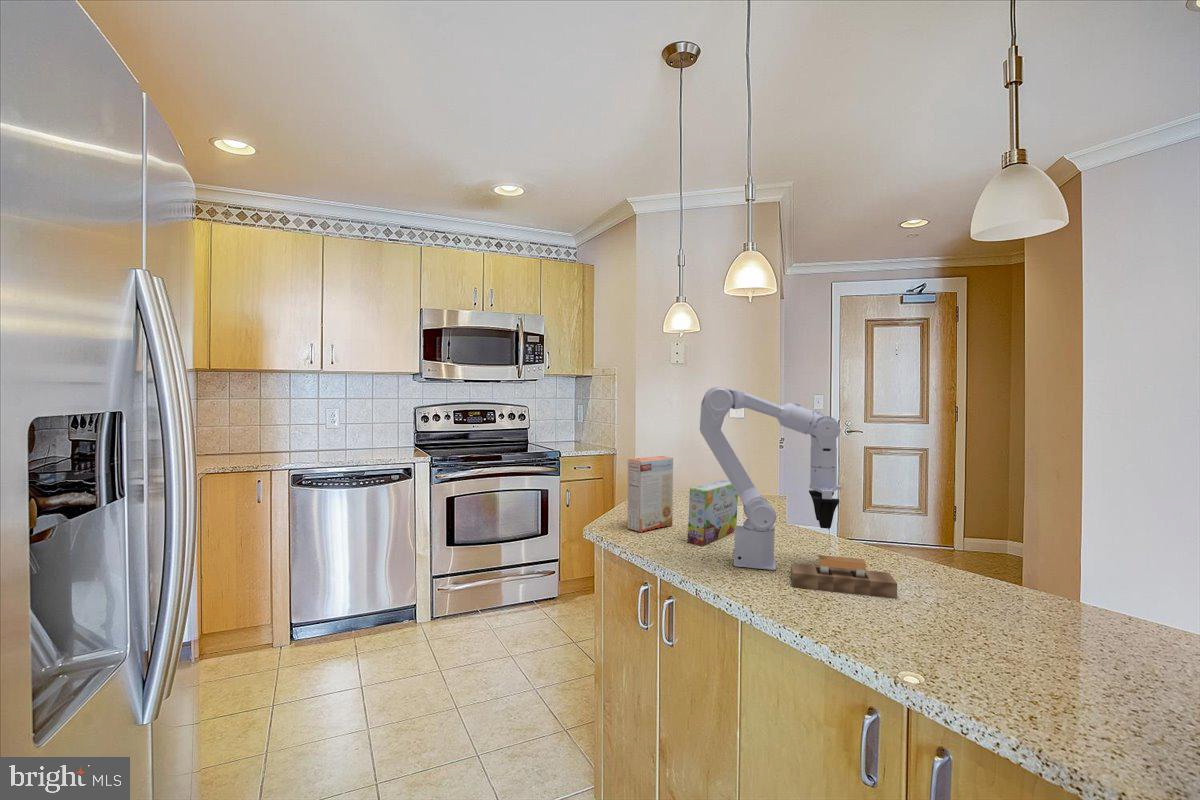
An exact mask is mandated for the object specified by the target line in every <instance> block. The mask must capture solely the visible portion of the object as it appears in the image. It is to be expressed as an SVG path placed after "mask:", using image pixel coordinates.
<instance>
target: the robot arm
mask: <svg viewBox="0 0 1200 800" xmlns="http://www.w3.org/2000/svg"><path fill="white" fill-rule="evenodd" d="M731 409H733V410H740V409H749V410H752V411H755V412H758V413H760V414H764V415H767V416H770V417H773V418H776V419H777V420H778V423H779V425H780V426H782V427H784V428H787V429H790V430H792V431H795V432H798V433H801V434H802V435H803V434H804V435H810V474H809V475H810V477H809V480H810V484H809V489H810V490H808V493H809V495H810V497H811V500H812V503H813V508H814V515H815V519H816V521H818V524H819V528H820V529H831V527H832V524H833V519H834V514H835V511H836V510H837V509H836V508H837V507H838V505H839V504H840V498H833V496H834V494H835V492H836V491H837V490H843V486H842V485H840V484H837V483H838V481H837V477H838V476H837V470H838V469H837V465H838V461H837V457H838V447H837V438H838V437H839V436H840V434H841V429H842V428H840V424H839V423H838V421H837V419H835V418H834V417H831V416H829V415H828V416H827V415H824V414H821V411H819V410H816V409H815V410H810V409H808V408H805V407H802V406H801V403H799V402H796V401H795V402H793V403H791V402H787V403H785V404H783V405H780V404H778V403H774V402H771V400H770V401H769V400H767V399H765V398H762V397H759V396H756V395H754V394H751V393H749V392H745V391H741V390H737V389H732V388H730V389H729V388H728V389H727V388H726V387H723V386H715V387H713V386H712V387H711V388H709V389H708V390H707V391H706V392H705V394H704V396H703V399H702V401H701V402H700V415H699V416H700V417H699V431H700V434H701V435H702V438H703V439H704V441H705V443H706V444H707V445H708V448H709V449H710V450H711V452H712V454H713V456H714V457H715V459H716V460H717V462H718V464H719V466H720V467H721V470H723V472H724V475H726V477H727V480H730V482H731V484H732V485H733V487H734V489H735V490H736V492H737V494H738V498H739V499H740V501H741V503H742V505H743V513H744V515H745V517H746V519H745V521H744V522H743V525H737V526H735V532H734V546H733V547H734V548H733V549H732V557H733V566H734V567H740V568H748V569H759V570H767V571H777V564H776V563H777V562H776V559H775V539H776V538H775V536H776V535H775V531H776V529H775V528H776V527H775V526H776V525H775V523H776V521H777V513H776V510H775V509H774V507H773V506H772V505H770V503H769V502H768V500H767V499H766V498H764V497H763V496H762V495H761V494H760V492H759V490H758V489H757V488H756V485H755V484H754V483H753V481H752V479H751V478H750V475H748V473H747V471H746V470H745V468H744V466H743V464H742V462H741V460H740V459H739V458H738V456H737V455H736V453H735V451H734V450H733V447H732V446H731V444H730V443H729V441H728V439H727V438H726V435H725V434H724V432H723V431H722V427H723V424H724V420H725V417H726V416H727V414H728V413H729V412H730V410H731Z"/></svg>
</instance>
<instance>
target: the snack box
mask: <svg viewBox="0 0 1200 800" xmlns="http://www.w3.org/2000/svg"><path fill="white" fill-rule="evenodd" d="M738 498H739V496H738V494H737V492H736V490H735V489H734V487H733V485H732V484H731V482H730V480H729V479H720V480H716V481H712V482H708V483H705V484H700V485H697V486H694V487H690V488H689V499H688V501H689V503H688V520H687V521H688V522H687V523H688V524H687V525H688V527H687V543H690V544H695V545H698V544H699V545H698V546H702V545H703V546H705V545H708V544H710V543H713V542H714V541H718V540H719V538H720V539H722V538H724V537H726V535H727V536H729V535H731V534H733V533H735V532H734V531H735V526H738V525H737V524H738V523H737V522H738V503H739V501H738V500H739V499H738ZM732 532H733V533H732ZM730 533H731V534H730ZM728 534H729V535H728ZM721 537H722V538H721ZM703 546H702V547H703Z"/></svg>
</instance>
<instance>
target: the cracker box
mask: <svg viewBox="0 0 1200 800" xmlns="http://www.w3.org/2000/svg"><path fill="white" fill-rule="evenodd" d="M673 486H674V457H669V456H664V455H659V456H648V457H647V456H646V457H640V458H632V459H627V530H629V529H631V530H630V531H633V530H635V531H634V532H637V531H638V533H640V532H641V533H644V532H643V531H645V532H648V531H647V530H650V531H652V530H651V529H654V530H656V529H655V528H658V529H661V528H660V527H663V528H666V527H665V526H667V527H670V526H669V525H672V526H673V513H674V512H673V511H674V510H673V509H674V508H673V505H674V504H673V503H674V501H673V500H674V499H673V495H674V489H673V488H674V487H673Z"/></svg>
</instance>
